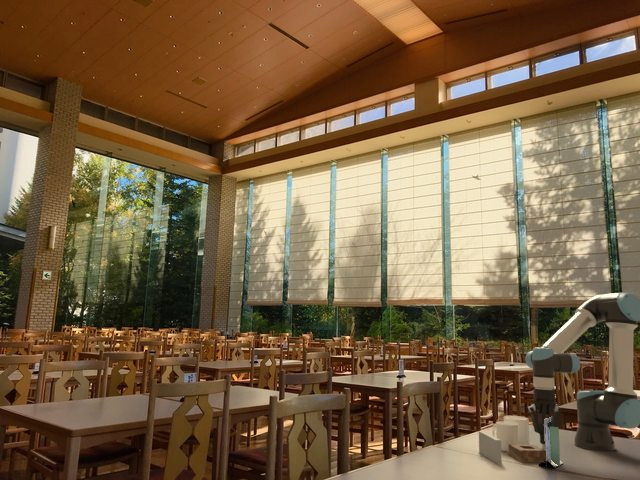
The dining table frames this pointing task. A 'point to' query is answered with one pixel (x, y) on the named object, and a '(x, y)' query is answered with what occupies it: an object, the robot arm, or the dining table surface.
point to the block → (527, 453)
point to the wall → (490, 447)
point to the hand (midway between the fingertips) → (546, 453)
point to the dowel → (555, 445)
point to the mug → (520, 428)
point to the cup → (506, 434)
